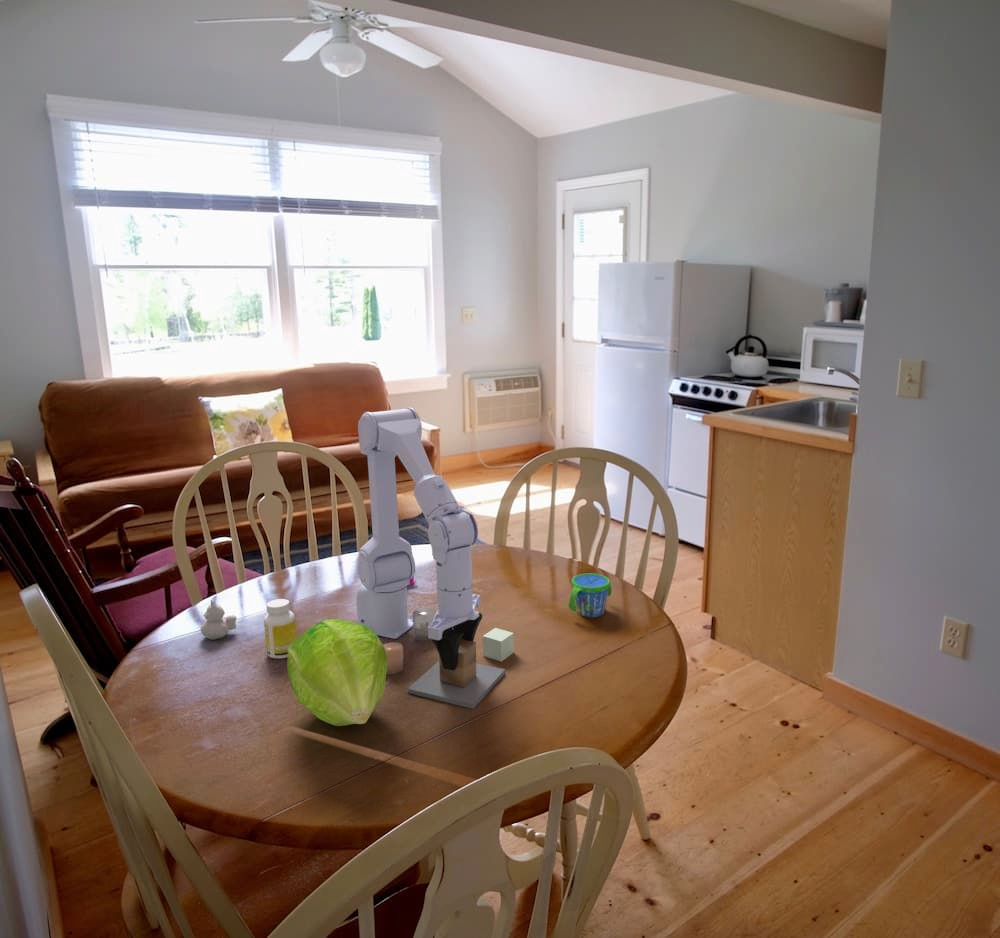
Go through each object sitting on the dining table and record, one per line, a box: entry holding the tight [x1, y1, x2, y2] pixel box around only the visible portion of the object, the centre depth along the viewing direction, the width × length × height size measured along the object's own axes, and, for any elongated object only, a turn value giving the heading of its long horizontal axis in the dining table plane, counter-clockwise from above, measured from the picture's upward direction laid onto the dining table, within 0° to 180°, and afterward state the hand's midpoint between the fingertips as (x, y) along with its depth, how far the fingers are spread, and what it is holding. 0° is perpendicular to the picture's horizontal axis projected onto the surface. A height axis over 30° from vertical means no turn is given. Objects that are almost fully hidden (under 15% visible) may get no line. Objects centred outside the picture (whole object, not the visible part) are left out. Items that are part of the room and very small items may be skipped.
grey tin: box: [412, 607, 437, 642], centre depth 137 cm, size 4×4×5 cm
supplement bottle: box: [263, 598, 298, 660], centre depth 131 cm, size 5×5×10 cm
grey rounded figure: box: [200, 599, 237, 641], centre depth 138 cm, size 5×7×8 cm
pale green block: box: [482, 627, 515, 663], centre depth 130 cm, size 4×4×4 cm
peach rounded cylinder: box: [382, 641, 405, 675], centre depth 125 cm, size 4×4×4 cm
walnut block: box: [438, 639, 477, 687], centre depth 120 cm, size 4×4×6 cm
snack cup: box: [568, 572, 613, 618], centre depth 146 cm, size 11×8×7 cm
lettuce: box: [286, 618, 388, 727], centre depth 107 cm, size 15×22×15 cm, turn 20°
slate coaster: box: [407, 660, 506, 710], centre depth 120 cm, size 12×12×1 cm
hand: (457, 661), depth 120 cm, fingers closed on walnut block, 4 cm apart
